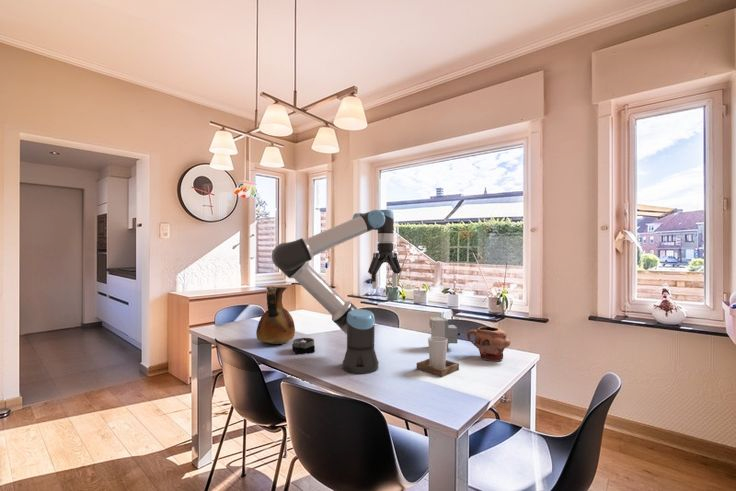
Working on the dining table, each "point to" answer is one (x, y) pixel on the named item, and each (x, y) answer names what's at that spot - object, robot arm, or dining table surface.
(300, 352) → the cpu cooler
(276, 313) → the brown vase
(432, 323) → the circuit breaker
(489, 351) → the brown clay rounded pot
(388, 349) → the dining table surface
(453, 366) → the wooden tray
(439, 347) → the cup
